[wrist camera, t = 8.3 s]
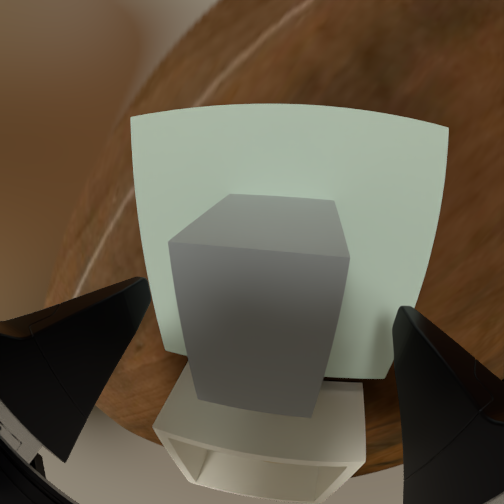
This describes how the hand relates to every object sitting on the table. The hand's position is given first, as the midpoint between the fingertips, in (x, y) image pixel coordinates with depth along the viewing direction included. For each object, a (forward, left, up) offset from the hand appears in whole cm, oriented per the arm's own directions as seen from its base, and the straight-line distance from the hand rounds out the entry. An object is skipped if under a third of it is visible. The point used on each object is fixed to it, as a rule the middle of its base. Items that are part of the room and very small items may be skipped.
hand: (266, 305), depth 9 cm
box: (0, +15, -4) cm, 16 cm away
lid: (0, 0, -4) cm, 4 cm away
